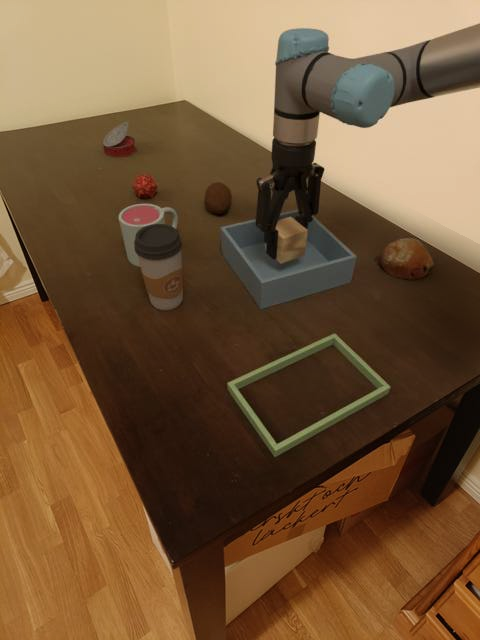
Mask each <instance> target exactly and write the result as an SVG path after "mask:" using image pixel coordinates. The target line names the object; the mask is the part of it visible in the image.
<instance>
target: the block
mask: <svg viewBox="0 0 480 640" xmlns="http://www.w3.org/2000/svg"><path fill="white" fill-rule="evenodd" d="M275 229H276V230H278V242H277V256H276V260H277V261H278V262H279V263H281V264H282V263H284V262H287V261H290V260H293V259H295V258H298V257H301V256H304V255H305V249H306V241H307V233H308V230H307V229H306V228H305V227H303V226H302V225H301V224H299V223H298V222H297V221H295V220H294V219H293V218H292V217H287V218H284V219H281V220H278V222H277V225H276V228H275ZM266 246H267V244H266V243H265V250H266Z"/></svg>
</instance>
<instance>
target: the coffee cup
mask: <svg viewBox="0 0 480 640" xmlns="http://www.w3.org/2000/svg"><path fill="white" fill-rule="evenodd" d="M134 246H135V247H134V249H135V252H136V253H137V256H138V259H139V263H140V266H141V267H140V271H141V275H142V278H143V282H144V285H145V289H146V291H147V294H148V298H149V302H150V304H151V305H152V306H153V307H154V308H155V309H157V310H159V311H166V312H167V311H173V310H174V309H177V308H178V307H179V306H180V305H181V304H182V302H183V300H184V276H183V275H184V271H183V270H184V269H183V267H184V266H183V257H182V247H183V241H182V237H181V235H180V233H179V232H178V230H177V228H176V229H175V228H174V227H172V225H169V224H166V223H165V224H153V225H149V226H145V227H143V228H141V229H140V230H139V231H138V232H137V233H136V236H135V241H134Z"/></svg>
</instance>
